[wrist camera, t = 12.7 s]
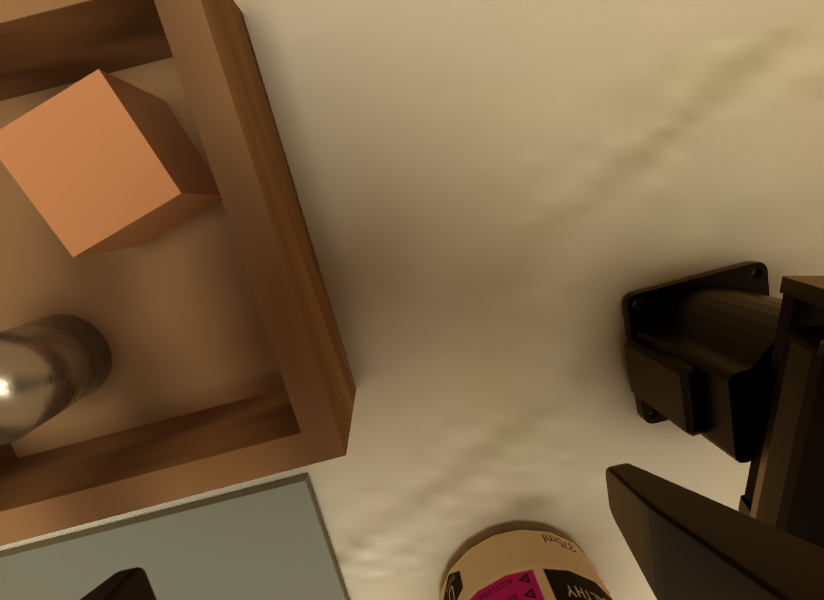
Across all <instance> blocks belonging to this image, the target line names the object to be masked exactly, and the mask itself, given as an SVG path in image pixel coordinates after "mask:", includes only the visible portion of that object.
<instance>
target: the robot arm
mask: <svg viewBox="0 0 824 600" xmlns="http://www.w3.org/2000/svg"><path fill="white" fill-rule="evenodd" d="M753 269H755V274H754V275H753V276H751V273H752V271H753ZM780 293H783V298H782V299H777V298H773V297H769V284H768V270H767V267H766V266H765V265H764V264H763V263H760V262H755V261H749V262H745V263H741V264H737V265H733V266H730V267H726V268H722V269H718V270H714V271H710V272H707V273H703V274H699V275H695V276H691V277H687V278H684V279H680V280H676V281H672V282H668V283H665V284H661V285H657V286H653V287H649V288H645V289H642V290H638V291H634V292H631V293H629V294H627V295H626V296H625V297H624V300H623V311H624V318H625V324H626V331H627V338H628V339H627V340H626V343H625V351H626V357H627V364H628V371H629V377H630V384H631V390H632V392H633V393H634V394H636V398H637V405H638V411H639V415H640V417H642V418H643V419H644V420H645V421H646V422H648V423H651V424H652V423H658V422H662V421H665V420H670V421H671V422H673V423H674V424H675V425H677V426H678V427H679V428H681V429H682V430H683V431H685V432H686V433H688V434H690V435H692V436H695V435H699V434H701V435H702V436H704V437H705V438H706V439H708V440H709V441H710V442H712V443H713V444H715V445H716V446H717V447H719V448H720V449H721V450H723V451H724V452H726V453H727V454H728V455H730V456H731V457H732V458H734V459H735V460H737V461H738V462H740V463H745V462H749V461H751V465H750V470H749V475H748V480H747V485H746V491H745V495H742V496H741V498H740V503H739V508H738V510H739V511H737V510H734V509H732V508H730V507H727V506H725V505H723V504H720V503H718V502H716V501H714V500H711V499H709V498H707V497H704V496H702V495H700V494H698V493H695V492H693V491H691V490H688V489H686V488H684V487H681V486H679V485H677V484H675V483H672V482H670V481H668V480H665V479H663V478H661V477H659V476H656V475H654V474H652V473H649V472H647V471H645V470H642V469H640V468H638V467H636V466H633V465H631V464H628V463H625V464H620V465H615V466H610V467H608V468H607V469H606V482H607V490H608V498H609V505H610V509H611V512H612V515H613V517H614V519H615V521H616V523H617V525H618V527H619V529H620V531H621V533H622V535H623V536H624V538H625V540H626V542H627V544H628V546H629V548H630V550H631V552H632V553H633V555H634V557H635V559H636V561H637V563H638V565H639V567H640V569H641V570H642V572H643V574H644V576H645V578H646V580H647V582H648V584H649V585H650V587H651V589H652V591H653V593H654V594H655V596H656V598H657V600H824V276H783V277H782V282H781V288H780ZM636 299H638V301H639V303H638V305H637V307H635V308H633V302H634V301H635V300H636ZM652 409H654V411H653V413H652V414H650V415H648V414H649V412H650V410H652ZM80 600H157V599H156V596H155V594H154V591H153V589H152V586H151V584H150V581H149V579H148V576H147V574H146V572H145V570H144V569H143V568H140V567H135V568H130V569H126V570H121V571H118V572H116V573H115V574H113V575H112V576H111V577H109V578H108V579H107V580H105V581H104V582H103V583H101V584H100V585H99V586H97V587H96V588H95V589H93V590H92V591H91V592H89V593H88V594H87V595H85V596H84V597H83V598H81V599H80Z"/></svg>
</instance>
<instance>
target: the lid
mask: <svg viewBox="0 0 824 600" xmlns="http://www.w3.org/2000/svg"><path fill="white" fill-rule="evenodd" d="M135 567H140V568H143V569H144V570H145V572H146V574H147V576H148V579H149V581H150V584H151V586H152V589H153V591H154V594H155V596H156V599H157V600H350V598H349V595H348V592H347V589H346V586H345V583H344V581H343V578H342V575H341V572H340V569H339V566H338V563H337V560H336V557H335V554H334V551H333V548H332V545H331V542H330V539H329V536H328V533H327V530H326V527H325V524H324V521H323V518H322V515H321V512H320V509H319V506H318V503H317V500H316V497H315V494H314V491H313V488H312V485H311V482H310V479H309V476H308V473H306V474H302V475H298V476H294V477H290V478H286V479H282V480H278V481H274V482H270V483H266V484H262V485H259V486H255V487H251V488H247V489H243V490H239V491H235V492H231V493H227V494H223V495H219V496H215V497H211V498H208V499H204V500H200V501H196V502H192V503H188V504H184V505H180V506H176V507H172V508H168V509H164V510H160V511H157V512H153V513H149V514H145V515H141V516H137V517H133V518H129V519H125V520H121V521H117V522H113V523H109V524H106V525H102V526H98V527H94V528H90V529H86V530H82V531H78V532H74V533H70V534H66V535H62V536H58V537H55V538H51V539H47V540H43V541H39V542H35V543H31V544H27V545H23V546H19V547H15V548H11V549H7V550H4V551H0V600H80V599H81V598H83V597H84V596H85V595H87V594H88V593H89V592H91V591H92V590H93V589H95V588H96V587H97V586H99V585H100V584H101V583H103V582H104V581H105V580H107V579H108V578H109V577H111V576H112V575H113V574H115V573H116V572H118V571H121V570H126V569H130V568H135Z"/></svg>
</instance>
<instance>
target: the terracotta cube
mask: <svg viewBox="0 0 824 600" xmlns="http://www.w3.org/2000/svg"><path fill="white" fill-rule="evenodd" d="M0 160H1V162H2V163H3V164H4V166H5V167H6V168H7V170H8V171H9V172H10V174H11V175H12V176H13V178H14V179H15V180H16V182H17V183H18V184H19V186H20V187H21V188H22V190H23V191H24V192H25V194H26V195H27V196H28V198H29V199H30V200H31V202H32V203H33V204H34V206H35V207H36V208H37V210H38V211H39V212H40V214H41V215H42V216H43V218H44V219H45V221H46V222H47V223H48V225H49V226H50V227H51V229H52V230H53V231H54V233H55V234H56V235H57V237H58V238H59V239H60V241H61V242H62V243H63V245H64V246H65V247H66V249H67V250H68V251H69V253H70V254H71V255H72V257H78V256H84V255H90V254H96V253H102V252H108V251H114V250H119V249H125V248H131V247H137V246H142V245H144V244H145V243H147V242H149V241H150V240H152V239H154V238H155V237H157V236H159V235H161V234H162V233H164V232H166V231H167V230H169V229H171V228H172V227H174V226H176V225H178V224H179V223H181V222H183V221H184V220H186V219H188V218H189V217H191V216H193V215H195V214H196V213H198V212H200V211H201V210H203V209H205V208H206V207H208V206H210V205H212V204H213V203H215V202H217V201H218V200H220V199H221V196H220V193H219V190H218V187H217V184H216V181H215V178H214V176H213V174H212V173H211V171H210V170H209V168H208V166H207V165H206V163H205V162H204V160H203V159H202V157H201V156H200V154H199V152H198V151H197V149H196V148H195V146H194V145H193V143H192V142H191V140H190V138H189V137H188V135H187V134H186V132H185V131H184V129H183V127H182V126H181V124H180V123H179V121H178V120H177V118H176V117H175V115H174V113H173V112H172V110H171V109H170V107H169V106H168V104H167V103H166V101H165V100H163V99H161V98H159V97H157V96H155V95H152V94H150V93H148V92H146V91H144V90H142V89H140V88H138V87H136V86H134V85H131V84H129V83H127V82H125V81H123V80H121V79H119V78H117V77H115V76H112V75H110V74H108V73H106V72H104V71H102V70H100V69H98V70H96V71H94V72H93V73H91V74H89V75H88V76H86V77H85V78H83V79H81V80H80V81H78V82H76V83H75V84H73V85H72V86H70V87H68V88H67V89H65V90H63V91H62V92H60V93H59V94H57V95H55V96H54V97H52V98H50V99H49V100H47V101H46V102H44V103H42V104H41V105H39V106H37V107H36V108H34V109H33V110H31V111H29V112H28V113H26V114H24V115H23V116H21V117H20V118H18V119H16V120H15V121H13V122H11V123H10V124H8V125H7V126H5V127H3V128H2V129H0Z"/></svg>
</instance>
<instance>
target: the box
mask: <svg viewBox="0 0 824 600" xmlns="http://www.w3.org/2000/svg"><path fill="white" fill-rule="evenodd" d="M98 69H100V70H102V71H104V72H106V73H108V74H110V75H112V76H115V77H117V78H119V79H121V80H123V81H125V82H127V83H129V84H131V85H134V86H136V87H138V88H140V89H142V90H144V91H146V92H148V93H150V94H152V95H155V96H157V97H159V98H161V99H163V100H165V101H166V103H167V104H168V106H169V107H170V109H171V110H172V112H173V113H174V115H175V117H176V118H177V120H178V121H179V123H180V124H181V126H182V127H183V129H184V131H185V132H186V134H187V135H188V137H189V138H190V140H191V142H192V143H193V145H194V146H195V148H196V149H197V151H198V152H199V154H200V156H201V157H202V159H203V160H204V162H205V163H206V165H207V166H208V168H209V170H210V171H211V173H212V174H213V176H214V178H215V181H216V184H217V187H218V190H219V193H220V196H221V199H220V200H218V201H217V202H215V203H213V204H212V205H210V206H208V207H206V208H205V209H203V210H201V211H200V212H198V213H196V214H195V215H193V216H191V217H189V218H188V219H186V220H184V221H183V222H181V223H179V224H178V225H176V226H174V227H172V228H171V229H169V230H167V231H166V232H164V233H162V234H161V235H159V236H157V237H155V238H154V239H152V240H150V241H149V242H147V243H145V244H144V245H142V246H137V247H131V248H125V249H119V250H114V251H108V252H102V253H96V254H90V255H84V256H78V257H72V255H71V254H70V253H69V251H68V250H67V249H66V247H65V246H64V245H63V243H62V242H61V241H60V239H59V238H58V237H57V235H56V234H55V233H54V231H53V230H52V229H51V227H50V226H49V225H48V223H47V222H46V221H45V219H44V218H43V216H42V215H41V214H40V212H39V211H38V210H37V208H36V207H35V206H34V204H33V203H32V202H31V200H30V199H29V198H28V196H27V195H26V194H25V192H24V191H23V190H22V188H21V187H20V186H19V184H18V183H17V182H16V180H15V179H14V178H13V176H12V175H11V174H10V172H9V171H8V170H7V168H6V167H5V166H4V164H3V163H2V162H1V160H0V332H1V331H4V330H7V329H10V328H13V327H16V326H19V325H22V324H25V323H28V322H31V321H34V320H37V319H40V318H43V317H46V316H49V315H55V314H66V315H72V316H75V317H79V318H81V319H83V320H85V321H87V322H89V323H90V324H92V325H93V326H94V327H95V328H97V329H98V330H99V331H100V332H101V334H102V335H103V336H104V338H105V339H106V341H107V343H108V345H109V347H110V350H111V355H112V366H111V371H110V373H109V376H108V378H107V379H106V381H105V382H104V383H103V384H102V385H101V386H100V387H99V388H98V389H96V390H95V391H93V392H92V393H90V394H88V395H87V396H85V397H84V398H82V399H81V400H79V401H78V402H76V403H74V404H73V405H71V406H70V407H68V408H67V409H65V410H64V411H62V412H60V413H59V414H57V415H56V416H54V417H53V418H51V419H50V420H48V421H46V422H45V423H43V424H42V425H40V426H39V427H37V428H36V429H34V430H33V431H31V432H29V433H28V434H26V435H25V436H23V437H22V438H20V439H18V440H16V441H14V442H12V443H9V444H5V445H0V546H2V545H6V544H9V543H13V542H17V541H21V540H25V539H29V538H32V537H36V536H40V535H44V534H48V533H51V532H55V531H59V530H63V529H67V528H70V527H74V526H78V525H82V524H86V523H89V522H93V521H97V520H101V519H105V518H108V517H112V516H116V515H120V514H124V513H127V512H131V511H135V510H139V509H143V508H147V507H150V506H154V505H158V504H162V503H166V502H169V501H173V500H177V499H181V498H185V497H188V496H192V495H196V494H200V493H204V492H207V491H211V490H215V489H219V488H223V487H226V486H230V485H234V484H238V483H242V482H245V481H249V480H253V479H257V478H261V477H265V476H268V475H272V474H276V473H280V472H284V471H287V470H291V469H295V468H299V467H303V466H306V465H310V464H314V463H318V462H322V461H325V460H329V459H333V458H337V457H341V456H344V455H346V452H347V445H348V438H349V432H350V425H351V419H352V412H353V405H354V399H355V392H356V388H355V385H354V381H353V378H352V375H351V371H350V368H349V365H348V361H347V358H346V355H345V352H344V348H343V345H342V342H341V338H340V335H339V332H338V328H337V325H336V322H335V318H334V315H333V312H332V309H331V305H330V302H329V299H328V295H327V292H326V289H325V285H324V282H323V279H322V275H321V272H320V269H319V266H318V262H317V259H316V256H315V252H314V249H313V246H312V242H311V239H310V236H309V232H308V229H307V226H306V223H305V219H304V216H303V213H302V209H301V206H300V203H299V199H298V196H297V193H296V189H295V186H294V183H293V180H292V176H291V173H290V170H289V166H288V163H287V160H286V156H285V153H284V150H283V146H282V143H281V140H280V137H279V133H278V130H277V127H276V123H275V120H274V117H273V113H272V110H271V107H270V103H269V100H268V97H267V94H266V90H265V87H264V84H263V80H262V77H261V74H260V70H259V67H258V64H257V60H256V57H255V54H254V51H253V47H252V44H251V41H250V37H249V34H248V31H247V27H246V24H245V21H244V17H243V14H242V12H241V10H240V9H239V8H238V6H237V5H236V4H235V2H234V1H233V0H0V129H2V128H3V127H5V126H7V125H8V124H10V123H11V122H13V121H15V120H16V119H18V118H20V117H21V116H23V115H24V114H26V113H28V112H29V111H31V110H33V109H34V108H36V107H37V106H39V105H41V104H42V103H44V102H46V101H47V100H49V99H50V98H52V97H54V96H55V95H57V94H59V93H60V92H62V91H63V90H65V89H67V88H68V87H70V86H72V85H73V84H75V83H76V82H78V81H80V80H81V79H83V78H85V77H86V76H88V75H89V74H91V73H93V72H94V71H96V70H98Z"/></svg>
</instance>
